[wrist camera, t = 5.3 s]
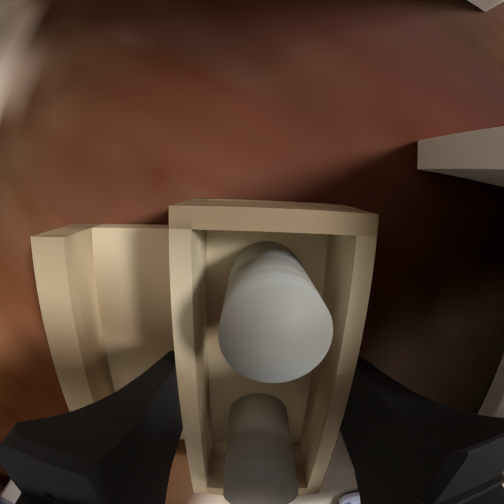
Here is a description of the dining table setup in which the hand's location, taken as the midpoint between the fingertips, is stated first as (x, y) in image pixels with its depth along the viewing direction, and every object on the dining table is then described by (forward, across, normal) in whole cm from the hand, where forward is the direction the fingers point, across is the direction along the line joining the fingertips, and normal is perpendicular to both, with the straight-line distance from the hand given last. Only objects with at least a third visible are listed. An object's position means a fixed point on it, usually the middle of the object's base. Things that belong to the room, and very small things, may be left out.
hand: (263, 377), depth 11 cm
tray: (+2, +3, 0) cm, 3 cm away
